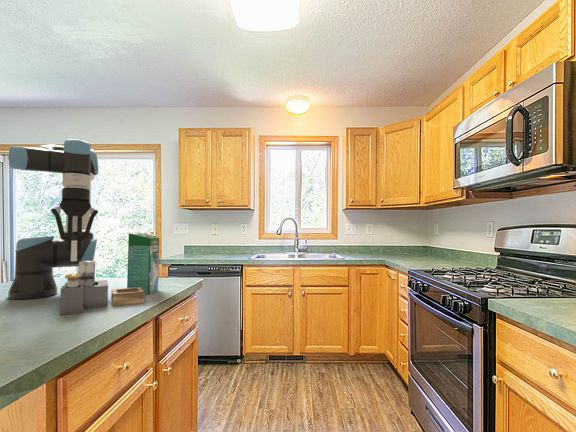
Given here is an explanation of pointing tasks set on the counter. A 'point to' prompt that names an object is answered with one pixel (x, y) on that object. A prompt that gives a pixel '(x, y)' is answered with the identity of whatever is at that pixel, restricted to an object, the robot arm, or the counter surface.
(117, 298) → the tray
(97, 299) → the socket block
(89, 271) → the shiny silver rounded cylinder
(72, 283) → the gold rounded cylinder
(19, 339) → the counter surface
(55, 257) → the robot arm
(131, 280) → the milk carton
